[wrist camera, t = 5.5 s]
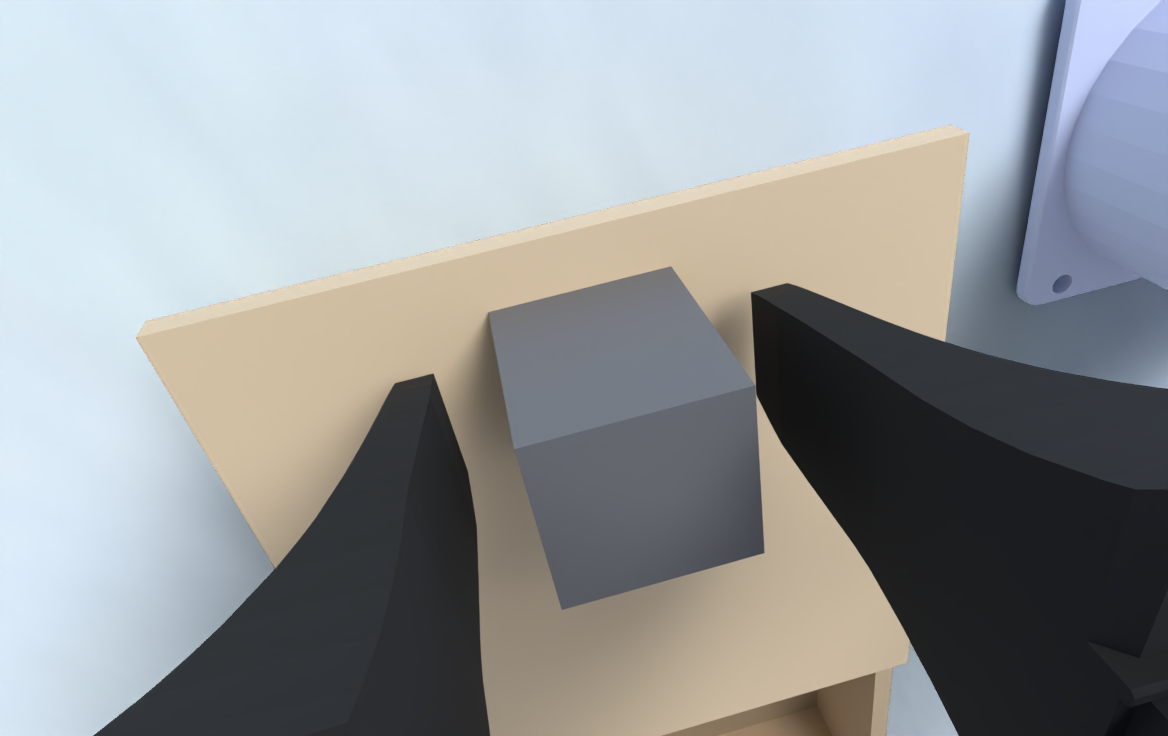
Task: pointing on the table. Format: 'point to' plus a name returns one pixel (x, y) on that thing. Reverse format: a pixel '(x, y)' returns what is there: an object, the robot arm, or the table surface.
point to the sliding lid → (602, 429)
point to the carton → (813, 713)
